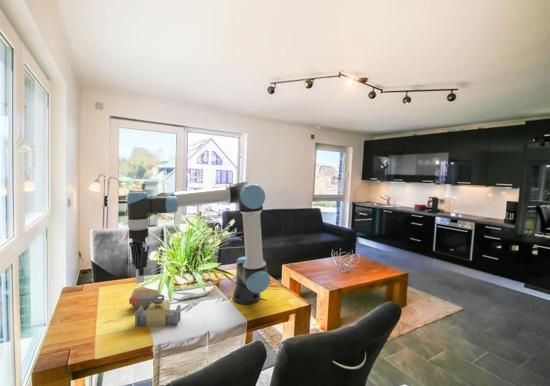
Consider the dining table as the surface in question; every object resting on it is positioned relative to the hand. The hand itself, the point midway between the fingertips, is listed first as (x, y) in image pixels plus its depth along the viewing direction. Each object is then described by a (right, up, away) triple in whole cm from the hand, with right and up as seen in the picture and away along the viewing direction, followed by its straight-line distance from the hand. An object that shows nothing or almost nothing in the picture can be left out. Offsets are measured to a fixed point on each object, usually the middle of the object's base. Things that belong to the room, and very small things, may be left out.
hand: (140, 282), depth 119 cm
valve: (+5, -21, +7) cm, 22 cm away
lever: (0, -11, +6) cm, 12 cm away
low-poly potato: (-8, -19, +21) cm, 30 cm away
